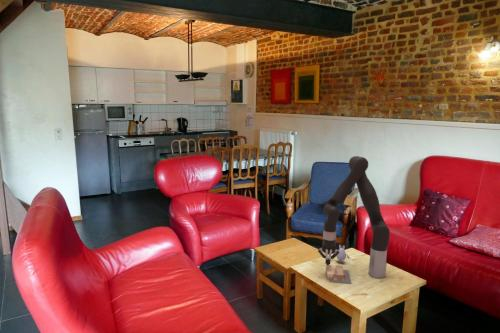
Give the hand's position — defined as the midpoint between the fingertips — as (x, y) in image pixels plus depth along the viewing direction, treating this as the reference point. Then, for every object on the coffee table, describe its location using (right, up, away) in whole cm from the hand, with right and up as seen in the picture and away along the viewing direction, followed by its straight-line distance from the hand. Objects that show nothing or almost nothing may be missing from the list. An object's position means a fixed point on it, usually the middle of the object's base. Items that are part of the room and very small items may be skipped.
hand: (327, 264), depth 215 cm
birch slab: (0, -5, +1) cm, 5 cm away
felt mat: (+7, -7, 0) cm, 10 cm away
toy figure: (+13, -4, +18) cm, 23 cm away
